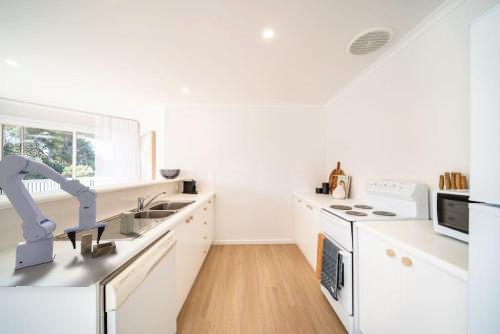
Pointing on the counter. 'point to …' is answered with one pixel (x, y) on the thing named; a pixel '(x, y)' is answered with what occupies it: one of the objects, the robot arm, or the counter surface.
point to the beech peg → (86, 243)
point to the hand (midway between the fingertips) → (86, 245)
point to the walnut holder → (104, 249)
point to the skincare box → (127, 222)
